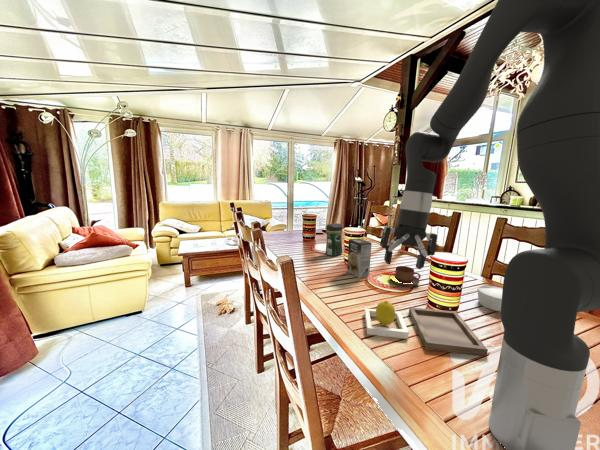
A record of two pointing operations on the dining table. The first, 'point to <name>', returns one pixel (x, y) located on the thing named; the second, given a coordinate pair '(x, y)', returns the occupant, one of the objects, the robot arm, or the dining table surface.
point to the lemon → (385, 313)
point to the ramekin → (490, 297)
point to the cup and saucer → (406, 276)
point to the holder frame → (386, 331)
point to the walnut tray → (446, 332)
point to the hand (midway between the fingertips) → (403, 266)
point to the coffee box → (359, 257)
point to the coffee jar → (334, 239)
